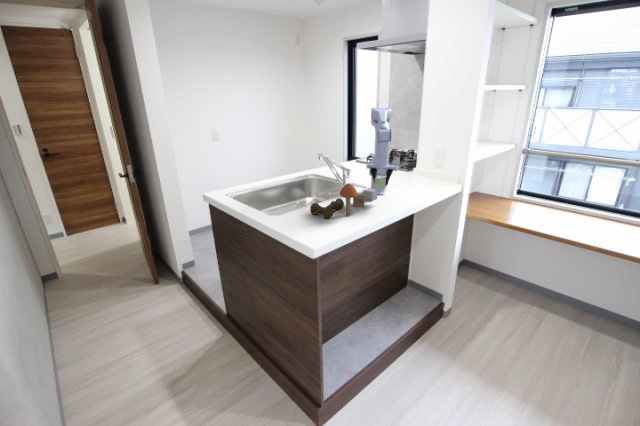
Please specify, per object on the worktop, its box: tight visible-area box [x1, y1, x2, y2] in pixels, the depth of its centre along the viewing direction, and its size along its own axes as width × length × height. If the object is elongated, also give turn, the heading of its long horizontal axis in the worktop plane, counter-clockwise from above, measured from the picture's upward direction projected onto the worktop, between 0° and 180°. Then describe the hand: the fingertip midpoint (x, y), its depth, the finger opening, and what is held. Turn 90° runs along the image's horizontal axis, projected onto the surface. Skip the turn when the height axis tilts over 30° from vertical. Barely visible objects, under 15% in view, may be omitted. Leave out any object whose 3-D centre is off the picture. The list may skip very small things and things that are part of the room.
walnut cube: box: [352, 193, 365, 208], centre depth 154 cm, size 5×5×5 cm
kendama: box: [309, 198, 345, 220], centre depth 144 cm, size 6×10×20 cm
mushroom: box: [339, 183, 359, 217], centre depth 140 cm, size 8×8×15 cm
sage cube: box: [374, 176, 388, 190], centre depth 153 cm, size 5×5×5 cm
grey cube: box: [363, 187, 378, 202], centre depth 162 cm, size 5×5×5 cm
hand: (380, 184), depth 153 cm, fingers closed on sage cube, 5 cm apart
